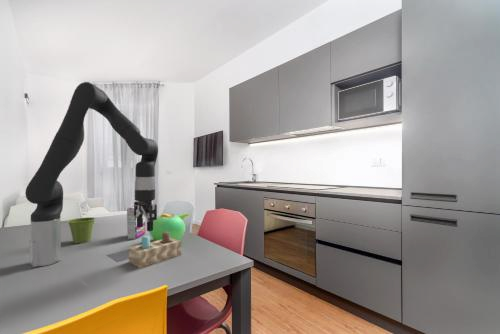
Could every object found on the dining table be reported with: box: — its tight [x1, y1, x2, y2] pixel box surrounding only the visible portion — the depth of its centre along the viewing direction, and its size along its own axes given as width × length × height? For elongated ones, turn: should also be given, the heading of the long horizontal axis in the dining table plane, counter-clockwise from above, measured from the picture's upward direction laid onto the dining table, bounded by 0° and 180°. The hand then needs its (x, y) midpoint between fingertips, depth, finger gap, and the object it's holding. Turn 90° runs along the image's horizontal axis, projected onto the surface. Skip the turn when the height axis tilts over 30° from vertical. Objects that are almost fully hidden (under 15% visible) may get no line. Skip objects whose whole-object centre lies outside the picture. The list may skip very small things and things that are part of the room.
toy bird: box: [148, 212, 191, 241], centre depth 125 cm, size 18×17×15 cm
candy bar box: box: [126, 205, 146, 240], centre depth 134 cm, size 11×5×16 cm, turn 179°
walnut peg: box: [162, 231, 170, 244], centre depth 105 cm, size 3×3×10 cm
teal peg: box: [141, 235, 151, 250], centre depth 98 cm, size 3×3×10 cm
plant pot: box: [67, 217, 96, 244], centre depth 126 cm, size 12×12×11 cm
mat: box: [105, 248, 129, 263], centre depth 106 cm, size 12×12×1 cm
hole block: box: [128, 238, 182, 269], centre depth 102 cm, size 18×9×6 cm, turn 140°
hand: (144, 228), depth 98 cm, fingers open, 8 cm apart
